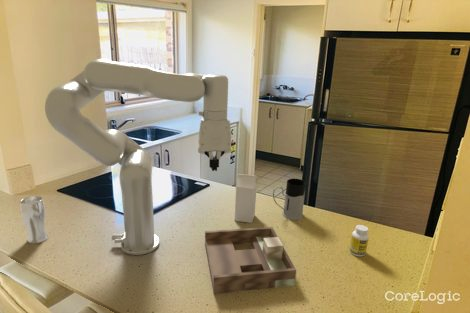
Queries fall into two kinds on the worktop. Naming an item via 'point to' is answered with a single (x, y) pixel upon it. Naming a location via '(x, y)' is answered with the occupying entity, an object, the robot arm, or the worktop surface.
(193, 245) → the worktop surface
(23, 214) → the beer glass
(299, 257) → the worktop surface
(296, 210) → the white and black mug
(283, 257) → the box
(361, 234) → the supplement bottle
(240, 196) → the milk carton
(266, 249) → the block
